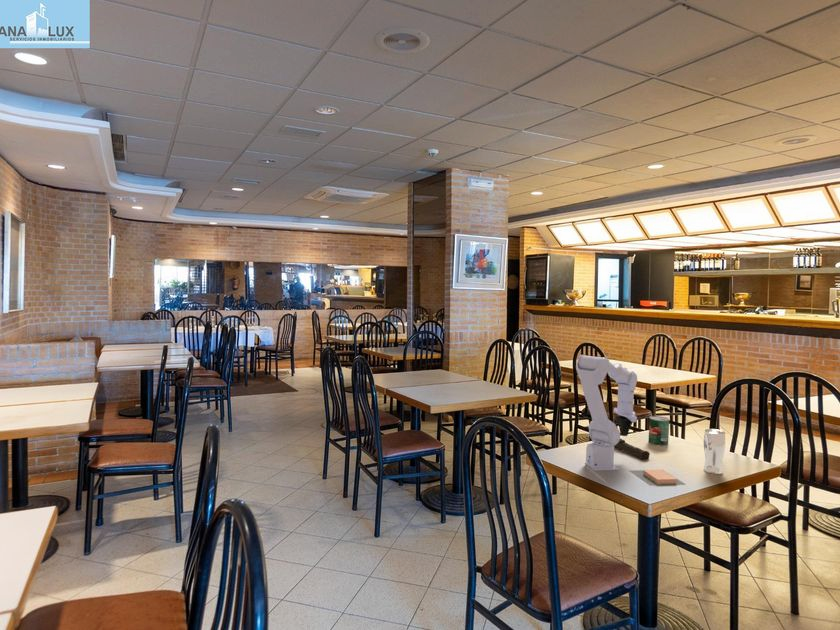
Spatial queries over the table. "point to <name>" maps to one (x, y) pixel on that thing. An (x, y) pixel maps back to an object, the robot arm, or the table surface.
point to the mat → (640, 474)
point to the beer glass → (714, 450)
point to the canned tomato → (658, 430)
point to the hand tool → (632, 450)
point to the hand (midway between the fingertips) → (624, 435)
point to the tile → (660, 476)
